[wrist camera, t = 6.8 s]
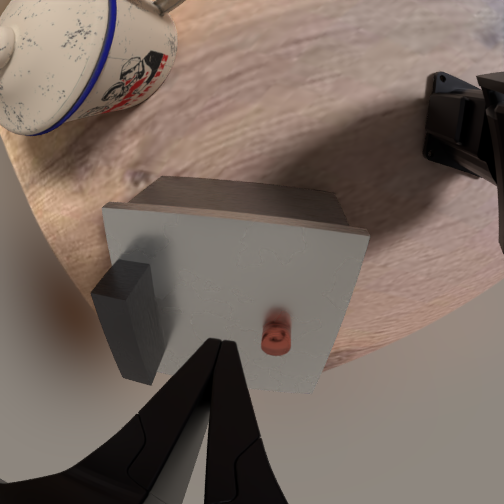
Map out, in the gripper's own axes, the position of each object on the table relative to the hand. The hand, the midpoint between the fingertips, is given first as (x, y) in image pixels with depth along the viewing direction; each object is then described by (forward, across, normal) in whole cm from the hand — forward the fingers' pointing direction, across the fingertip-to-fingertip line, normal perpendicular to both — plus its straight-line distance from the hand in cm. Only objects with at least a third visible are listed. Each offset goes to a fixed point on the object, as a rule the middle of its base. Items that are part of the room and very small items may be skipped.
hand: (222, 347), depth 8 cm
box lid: (+7, +1, +5) cm, 8 cm away
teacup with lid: (+13, +9, -11) cm, 19 cm away
